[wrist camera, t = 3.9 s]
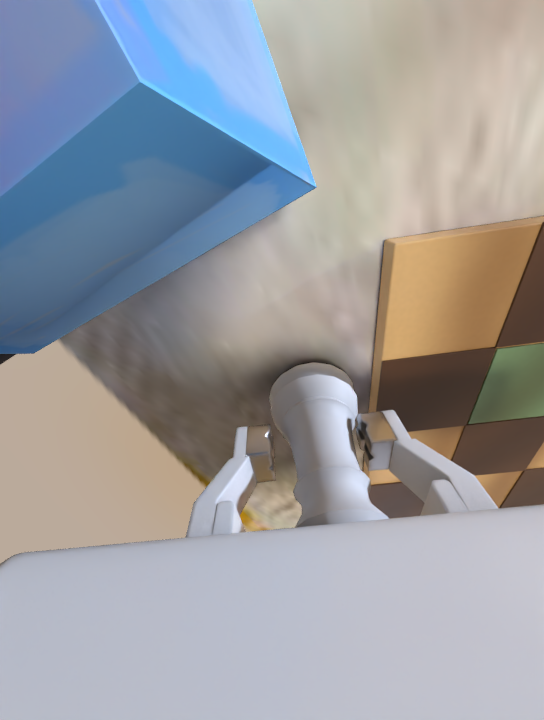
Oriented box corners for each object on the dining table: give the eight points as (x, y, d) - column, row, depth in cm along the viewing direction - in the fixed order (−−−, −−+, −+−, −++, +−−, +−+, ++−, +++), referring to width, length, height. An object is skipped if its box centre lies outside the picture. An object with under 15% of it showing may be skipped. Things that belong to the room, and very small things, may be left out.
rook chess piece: (368, 389, 14) (461, 570, 7) (307, 432, 16) (338, 609, 9) (313, 340, 12) (370, 517, 6) (251, 393, 14) (239, 578, 7)
